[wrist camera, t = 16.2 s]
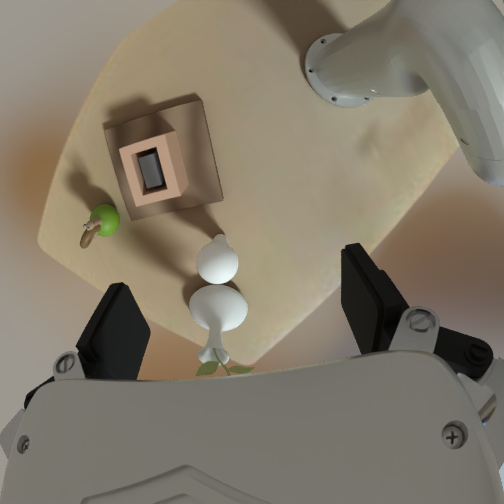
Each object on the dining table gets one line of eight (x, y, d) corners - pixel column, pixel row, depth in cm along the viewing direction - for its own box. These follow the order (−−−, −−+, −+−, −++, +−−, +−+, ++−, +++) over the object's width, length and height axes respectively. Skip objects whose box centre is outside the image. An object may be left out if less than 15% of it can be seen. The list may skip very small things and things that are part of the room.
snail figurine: (131, 206, 44) (101, 237, 33) (117, 233, 46) (88, 269, 35) (107, 189, 42) (71, 216, 31) (94, 217, 44) (60, 249, 34)
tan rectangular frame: (175, 130, 37) (164, 134, 31) (188, 184, 41) (180, 195, 36) (134, 142, 37) (118, 148, 32) (148, 193, 41) (136, 206, 36)
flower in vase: (186, 317, 56) (165, 424, 34) (194, 273, 50) (168, 389, 29) (247, 329, 58) (250, 436, 36) (262, 288, 52) (274, 404, 31)
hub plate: (202, 100, 36) (194, 98, 30) (223, 197, 44) (220, 213, 38) (108, 129, 37) (87, 134, 31) (134, 217, 45) (119, 235, 39)
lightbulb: (196, 231, 46) (184, 266, 37) (227, 215, 45) (223, 247, 36) (214, 259, 49) (208, 298, 40) (245, 245, 48) (245, 282, 38)
